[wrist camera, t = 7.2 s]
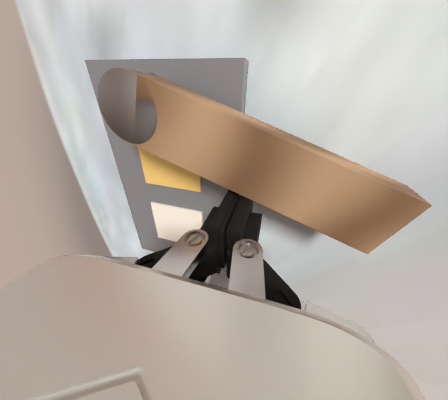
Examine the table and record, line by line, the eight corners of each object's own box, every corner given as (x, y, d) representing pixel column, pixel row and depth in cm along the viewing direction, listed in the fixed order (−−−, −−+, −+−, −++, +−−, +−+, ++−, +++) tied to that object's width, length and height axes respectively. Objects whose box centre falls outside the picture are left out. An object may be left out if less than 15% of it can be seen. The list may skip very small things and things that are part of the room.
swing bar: (406, 185, 9) (431, 205, 8) (355, 230, 11) (367, 254, 10) (125, 60, 10) (94, 55, 9) (124, 123, 12) (99, 129, 11)
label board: (233, 263, 20) (227, 281, 18) (148, 241, 23) (135, 255, 21) (248, 61, 11) (240, 54, 9) (99, 62, 13) (67, 57, 11)
